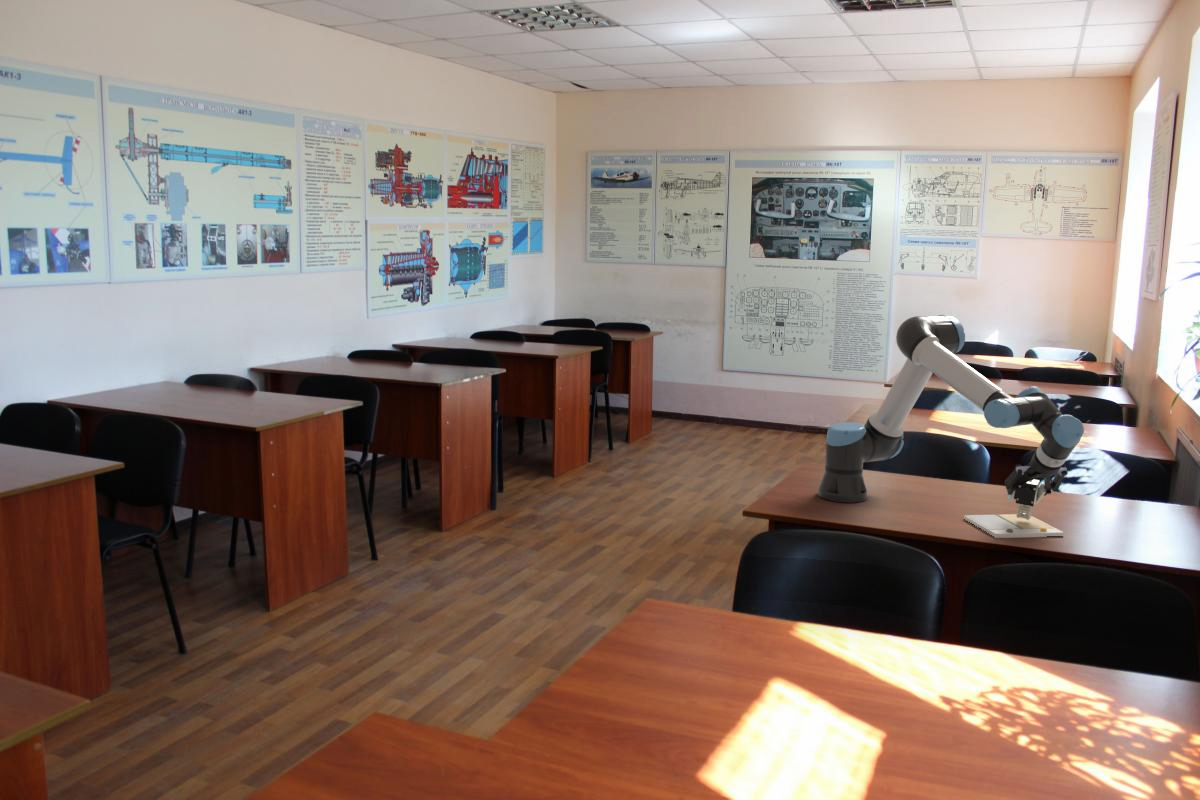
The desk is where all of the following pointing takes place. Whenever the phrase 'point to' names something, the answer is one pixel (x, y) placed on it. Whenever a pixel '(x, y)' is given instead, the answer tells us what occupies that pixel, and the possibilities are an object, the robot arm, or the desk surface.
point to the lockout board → (1012, 526)
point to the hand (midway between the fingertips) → (1022, 498)
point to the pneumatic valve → (1026, 497)
